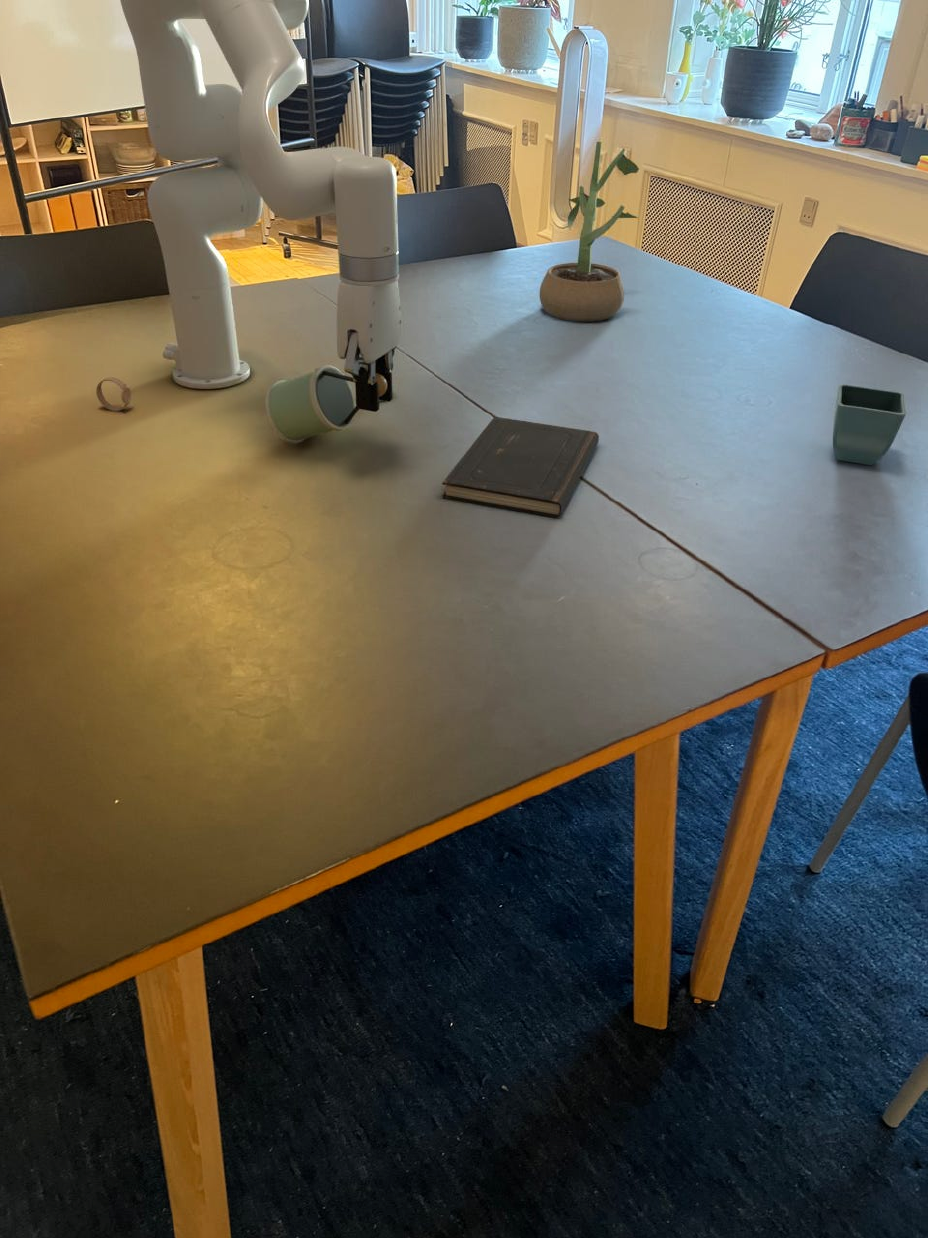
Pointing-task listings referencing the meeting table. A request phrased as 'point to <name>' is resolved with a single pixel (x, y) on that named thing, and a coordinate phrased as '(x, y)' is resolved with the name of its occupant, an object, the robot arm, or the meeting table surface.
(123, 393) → the brown ring
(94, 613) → the meeting table surface
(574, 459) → the hardcover book
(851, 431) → the flower pot
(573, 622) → the meeting table surface
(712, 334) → the meeting table surface
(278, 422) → the green hollow rimmed cylinder
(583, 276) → the potted plant
